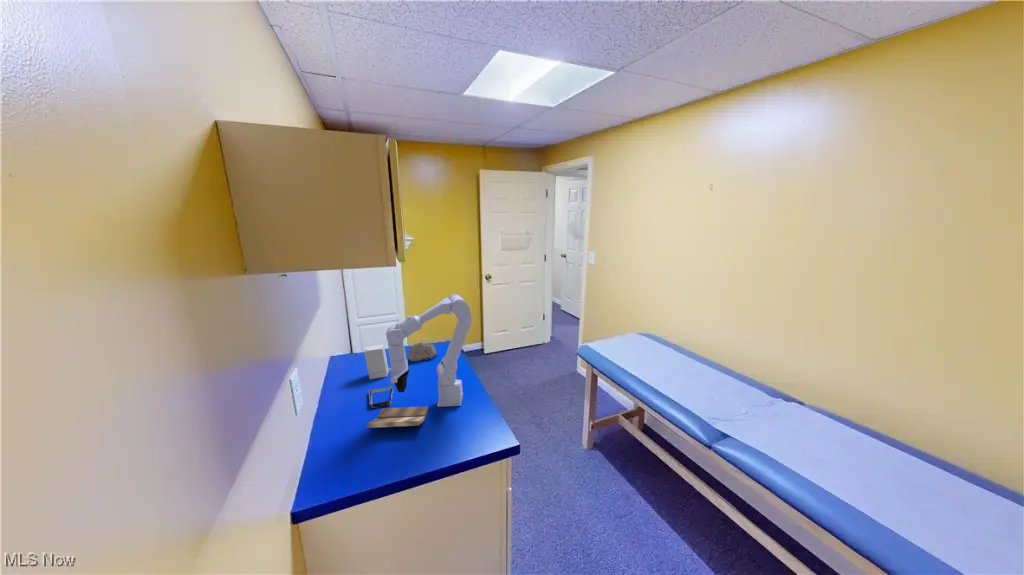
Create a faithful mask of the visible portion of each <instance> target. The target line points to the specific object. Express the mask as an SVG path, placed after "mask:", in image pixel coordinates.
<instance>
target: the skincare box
mask: <svg viewBox="0 0 1024 575" xmlns="http://www.w3.org/2000/svg"><path fill="white" fill-rule="evenodd" d="M363 352H364V358H365V363H366V367H367V372H368V377H369V380H375V379H380V378H386V377H388V375H389V372H388V369H389V365H388V359H387V353H386V349H385V343H381V344H374V345H373V344H372V345H367V346H365V349H364V351H363Z"/></svg>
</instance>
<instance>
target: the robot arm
mask: <svg viewBox="0 0 1024 575" xmlns="http://www.w3.org/2000/svg"><path fill="white" fill-rule="evenodd" d="M451 312H452V313H453V314H454V315H455V317H456V319H457V322H456V326H455V327H454V331H453V334H452V336H451V339H450V341H449V345H448V346H447V349H446V353H445V355H444V356H443V357H442V358H441V361H440V362H439V363H438V364H437V366H436V367H435V368H436V373H437V375H438V380H437V389H438V398H439V399H438V401H437V404H436V407H438V408H439V407H440V408H441V407H458V406H459V407H460V406H462V402H463V398H464V392H463V382H462V379H457V371H458V361H459V360H458V359H459V357H460V354H461V352H462V349H463V347H464V343H465V342H466V339H467V335H468V333H469V331H470V327H471V325H472V322H473V318H472V314H471V307H470V305H469V303H468V302H467V301H466V300H464V299H463V297H462V296H461V295H459V293H458V294H457V293H453V294H450V295H449V296H447V297H444V298H443V299H442V300H440V301H439V302H438V303H436V304H435V305H433V306H432V307H430V308H428V309H427V310H426V311H424V312H422V313H420V314H419V315H414V314H413V315H408V316H407V317H406V319H404V320H402V321H401V322H399V323H397V322H396V324H395V325H392V326H389V327H388V328H387V330H386V333H385V336H386V340H387V346H388V348H387V349H388V355H389V356H388V357H389V362H390V367H388V373H390V383H391V384H393V385H394V386H395V387H396V390H397V392H398V393H404V392H405V391H406V389H407V385H408V384H407V383H408V376H409V373H410V369H409V366H408V364H409V362H408V359H407V355H406V354H407V353H406V347H405V344H404V340H405V338H408V337H410V336H411V335H413V334H415V333H416V332H417V331H419V330H421V329H422V328H423V325H424V324H425V323H427V322H428V321H431V320H432V319H435V318H436V317H438V316H441V315H442V314H443V315H450V316H451V315H452V313H451Z"/></svg>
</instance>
